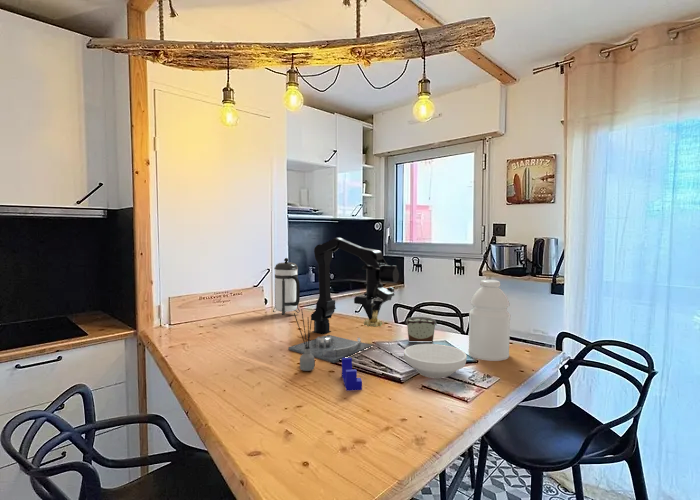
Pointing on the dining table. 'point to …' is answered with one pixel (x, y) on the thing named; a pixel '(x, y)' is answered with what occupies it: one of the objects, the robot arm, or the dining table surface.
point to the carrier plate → (331, 348)
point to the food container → (420, 328)
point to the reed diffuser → (306, 351)
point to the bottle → (489, 323)
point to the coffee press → (286, 287)
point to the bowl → (435, 359)
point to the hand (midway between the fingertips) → (373, 318)
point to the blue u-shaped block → (350, 376)
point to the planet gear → (373, 320)
